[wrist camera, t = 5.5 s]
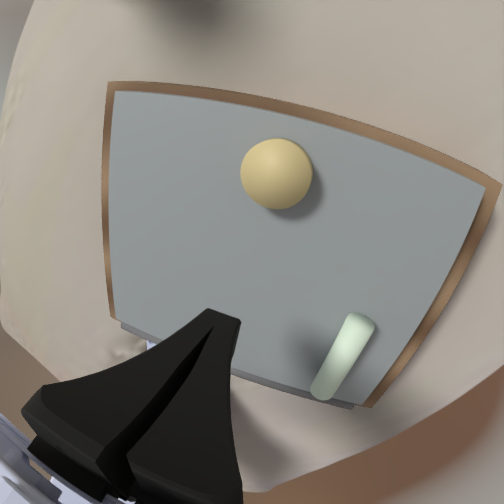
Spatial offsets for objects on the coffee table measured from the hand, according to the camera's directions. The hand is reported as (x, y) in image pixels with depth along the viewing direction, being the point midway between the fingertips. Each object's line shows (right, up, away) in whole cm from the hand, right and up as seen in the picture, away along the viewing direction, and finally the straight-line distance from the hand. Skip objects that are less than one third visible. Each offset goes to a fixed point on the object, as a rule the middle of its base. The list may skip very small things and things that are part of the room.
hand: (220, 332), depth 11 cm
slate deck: (+2, +2, +6) cm, 6 cm away
